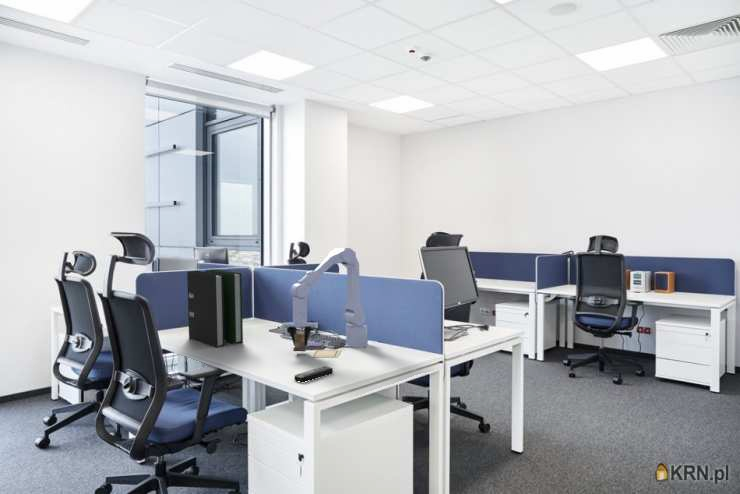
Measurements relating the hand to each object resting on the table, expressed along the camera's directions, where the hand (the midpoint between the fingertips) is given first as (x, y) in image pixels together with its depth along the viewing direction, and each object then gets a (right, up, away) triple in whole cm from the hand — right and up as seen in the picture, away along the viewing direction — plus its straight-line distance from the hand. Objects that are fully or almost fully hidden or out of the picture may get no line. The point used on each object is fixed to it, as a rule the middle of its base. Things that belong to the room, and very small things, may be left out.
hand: (300, 345), depth 207 cm
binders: (-43, -3, +26) cm, 51 cm away
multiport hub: (+9, -6, -31) cm, 33 cm away
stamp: (0, -2, 0) cm, 2 cm away
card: (+10, -4, +1) cm, 11 cm away
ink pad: (+5, -3, +11) cm, 12 cm away
